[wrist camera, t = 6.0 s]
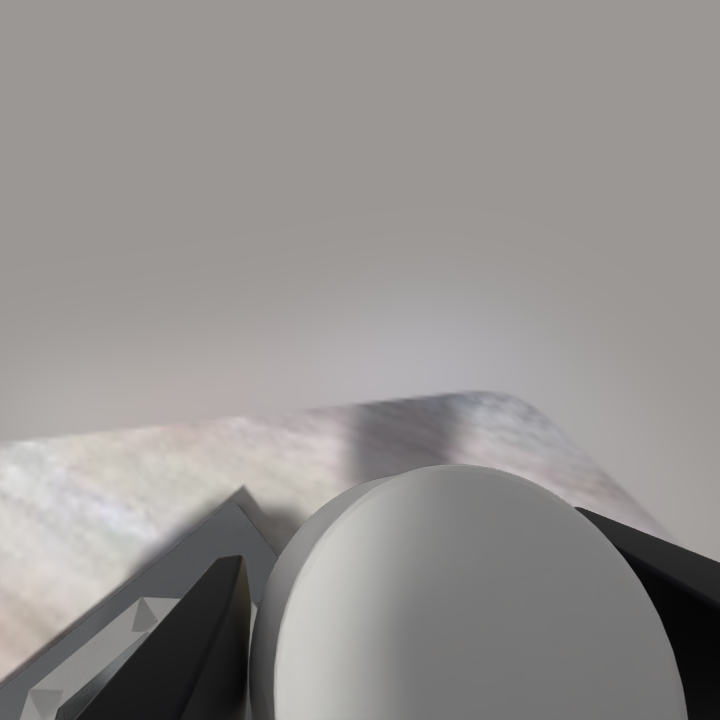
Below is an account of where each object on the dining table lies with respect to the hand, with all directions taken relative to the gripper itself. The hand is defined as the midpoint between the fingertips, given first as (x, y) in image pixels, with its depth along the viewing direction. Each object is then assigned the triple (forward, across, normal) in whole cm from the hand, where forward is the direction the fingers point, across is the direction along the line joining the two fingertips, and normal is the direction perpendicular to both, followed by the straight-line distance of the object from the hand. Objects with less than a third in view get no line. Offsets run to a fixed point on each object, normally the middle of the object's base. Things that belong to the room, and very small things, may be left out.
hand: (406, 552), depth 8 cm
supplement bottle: (+4, 0, +6) cm, 7 cm away
